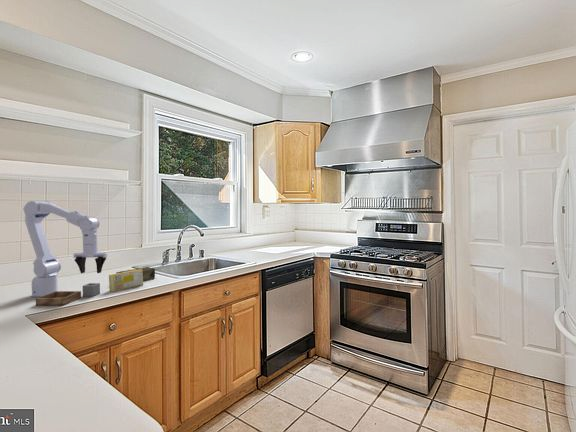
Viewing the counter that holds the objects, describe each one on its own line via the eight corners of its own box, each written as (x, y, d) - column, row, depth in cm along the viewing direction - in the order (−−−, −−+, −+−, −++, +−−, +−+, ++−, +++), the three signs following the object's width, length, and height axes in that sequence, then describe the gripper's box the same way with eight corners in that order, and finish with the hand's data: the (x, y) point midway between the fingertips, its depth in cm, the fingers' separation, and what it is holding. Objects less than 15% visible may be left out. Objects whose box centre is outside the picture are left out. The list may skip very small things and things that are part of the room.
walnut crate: (35, 305, 136) (35, 298, 136) (55, 297, 148) (55, 291, 148) (63, 305, 136) (63, 298, 136) (81, 297, 148) (80, 291, 147)
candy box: (141, 284, 172) (141, 269, 171) (143, 285, 170) (143, 269, 170) (109, 291, 159) (108, 274, 159) (110, 291, 158) (110, 274, 157)
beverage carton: (155, 278, 186) (155, 267, 186) (123, 285, 170) (123, 273, 169) (147, 276, 190) (147, 265, 190) (115, 284, 174) (114, 271, 174)
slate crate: (82, 296, 149) (82, 285, 149) (89, 293, 154) (89, 283, 154) (93, 296, 149) (93, 285, 149) (100, 293, 154) (99, 283, 154)
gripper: (110, 242, 155) (111, 270, 155) (80, 242, 155) (81, 271, 155) (101, 244, 148) (102, 274, 148) (70, 244, 148) (71, 274, 148)
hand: (91, 272), depth 151 cm, fingers open, 7 cm apart
